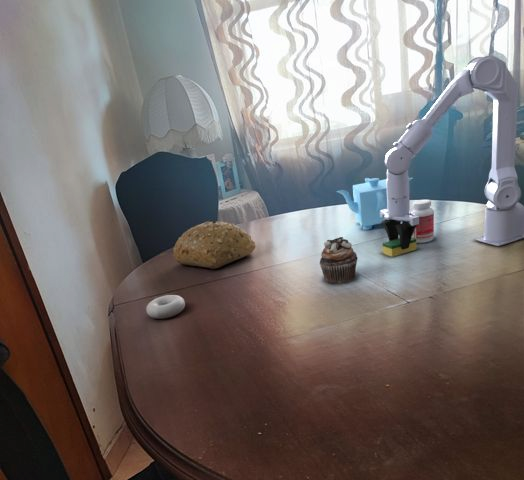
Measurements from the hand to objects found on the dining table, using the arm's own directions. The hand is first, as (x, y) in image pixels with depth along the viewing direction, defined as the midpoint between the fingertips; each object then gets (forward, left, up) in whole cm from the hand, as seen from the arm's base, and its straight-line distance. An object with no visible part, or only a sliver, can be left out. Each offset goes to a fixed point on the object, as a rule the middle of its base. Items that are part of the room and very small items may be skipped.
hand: (399, 246), depth 129 cm
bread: (+43, -40, -2) cm, 59 cm away
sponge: (0, 0, -1) cm, 1 cm away
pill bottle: (-10, -3, -2) cm, 11 cm away
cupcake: (+22, +5, -2) cm, 23 cm away
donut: (+66, -7, -2) cm, 66 cm away
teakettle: (-12, -30, -2) cm, 32 cm away
